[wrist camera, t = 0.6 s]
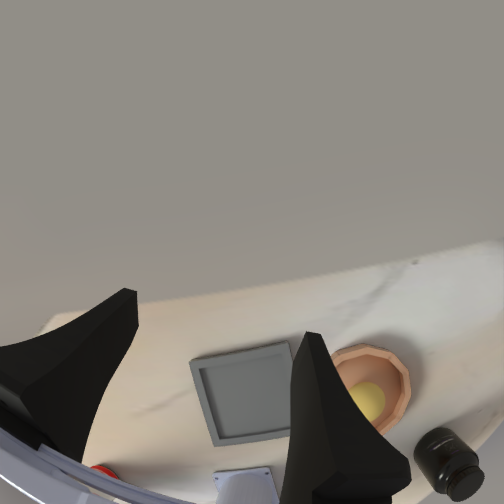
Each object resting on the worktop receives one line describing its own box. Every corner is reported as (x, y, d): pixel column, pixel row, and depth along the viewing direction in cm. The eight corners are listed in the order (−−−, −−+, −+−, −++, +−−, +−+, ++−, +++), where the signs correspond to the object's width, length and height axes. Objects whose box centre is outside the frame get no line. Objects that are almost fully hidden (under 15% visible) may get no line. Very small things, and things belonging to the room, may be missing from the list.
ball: (380, 406, 33) (392, 422, 28) (342, 418, 33) (350, 435, 28) (375, 371, 33) (388, 383, 28) (336, 383, 34) (343, 397, 29)
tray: (307, 427, 34) (308, 432, 33) (216, 441, 35) (214, 446, 34) (288, 340, 36) (288, 342, 34) (192, 359, 36) (188, 362, 35)
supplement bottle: (434, 419, 32) (475, 456, 20) (460, 435, 31) (500, 469, 19) (402, 456, 32) (433, 502, 20) (430, 470, 31) (462, 512, 19)
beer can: (90, 457, 36) (33, 501, 21) (124, 472, 36) (71, 526, 20) (92, 482, 36) (41, 527, 20) (124, 497, 35) (77, 550, 19)
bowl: (408, 419, 33) (413, 425, 31) (317, 446, 34) (318, 454, 32) (397, 332, 34) (403, 335, 32) (298, 360, 35) (299, 365, 33)
